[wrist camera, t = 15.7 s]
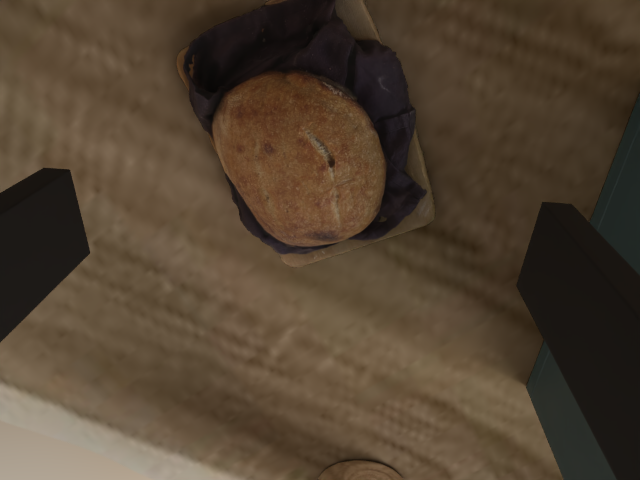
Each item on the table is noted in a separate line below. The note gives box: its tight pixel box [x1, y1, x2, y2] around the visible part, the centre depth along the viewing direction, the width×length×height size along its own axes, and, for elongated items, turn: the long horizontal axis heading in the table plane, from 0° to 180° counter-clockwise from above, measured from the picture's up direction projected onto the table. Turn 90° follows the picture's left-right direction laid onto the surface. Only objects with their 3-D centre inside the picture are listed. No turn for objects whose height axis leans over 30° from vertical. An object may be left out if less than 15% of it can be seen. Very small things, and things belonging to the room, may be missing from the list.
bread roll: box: [177, 0, 436, 268], centre depth 17 cm, size 11×8×4 cm
